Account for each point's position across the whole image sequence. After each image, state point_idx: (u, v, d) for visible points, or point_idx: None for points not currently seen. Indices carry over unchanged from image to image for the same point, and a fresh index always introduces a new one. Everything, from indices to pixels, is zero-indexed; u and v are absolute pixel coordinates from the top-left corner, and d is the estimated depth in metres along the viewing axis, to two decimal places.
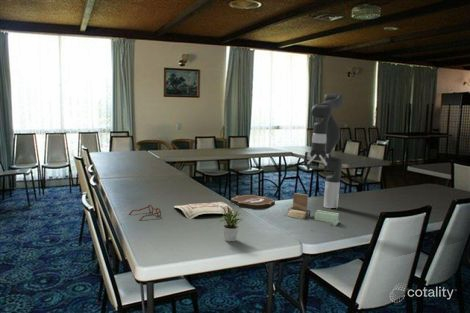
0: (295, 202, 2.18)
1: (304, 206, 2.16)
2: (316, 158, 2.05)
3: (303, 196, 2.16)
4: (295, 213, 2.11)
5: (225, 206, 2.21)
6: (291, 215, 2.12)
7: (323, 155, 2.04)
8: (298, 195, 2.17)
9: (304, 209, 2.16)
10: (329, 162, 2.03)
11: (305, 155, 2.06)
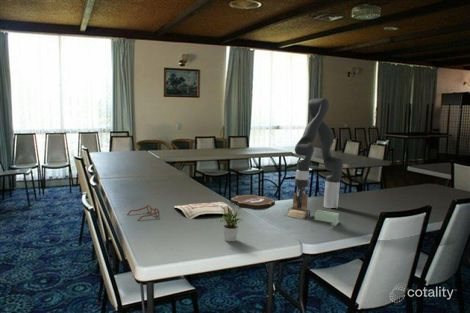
0: (295, 202, 2.18)
1: (304, 206, 2.16)
2: None
3: (303, 196, 2.16)
4: (295, 213, 2.11)
5: (225, 206, 2.21)
6: (291, 215, 2.12)
7: (304, 189, 2.19)
8: None
9: (304, 209, 2.16)
10: None
11: (300, 196, 2.12)
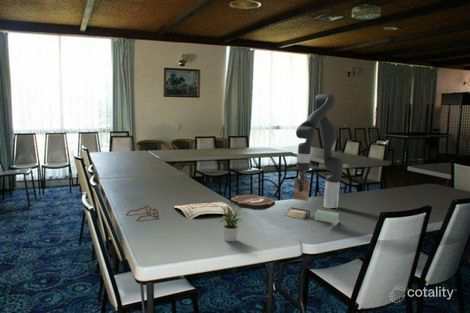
0: (296, 188, 2.17)
1: (305, 191, 2.15)
2: None
3: (304, 181, 2.15)
4: (295, 213, 2.11)
5: (225, 206, 2.21)
6: (291, 215, 2.12)
7: (305, 173, 2.18)
8: None
9: (305, 194, 2.15)
10: None
11: (301, 179, 2.11)
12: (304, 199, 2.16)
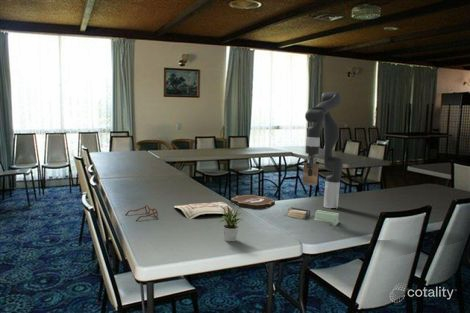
0: (305, 172, 2.14)
1: (314, 175, 2.12)
2: None
3: (313, 165, 2.12)
4: (295, 213, 2.11)
5: (225, 206, 2.21)
6: (291, 215, 2.12)
7: (314, 157, 2.15)
8: None
9: (314, 178, 2.12)
10: None
11: (310, 163, 2.08)
12: (313, 184, 2.12)
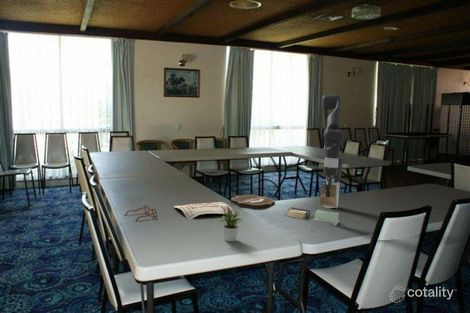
0: (323, 193, 2.09)
1: (333, 197, 2.07)
2: None
3: (332, 186, 2.07)
4: (295, 213, 2.11)
5: (225, 206, 2.21)
6: (291, 215, 2.12)
7: (332, 178, 2.10)
8: None
9: (333, 200, 2.07)
10: None
11: (329, 184, 2.03)
12: (331, 205, 2.08)
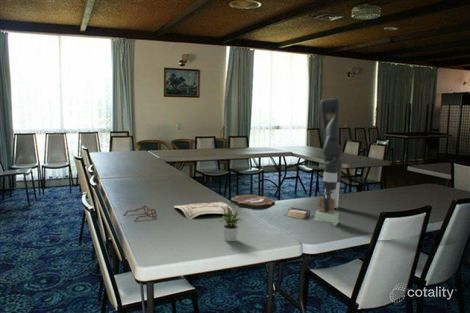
0: (321, 207, 2.10)
1: (331, 211, 2.08)
2: (330, 195, 2.09)
3: None
4: (295, 213, 2.11)
5: (225, 206, 2.21)
6: (291, 215, 2.12)
7: (331, 192, 2.11)
8: None
9: None
10: None
11: (328, 198, 2.04)
12: None
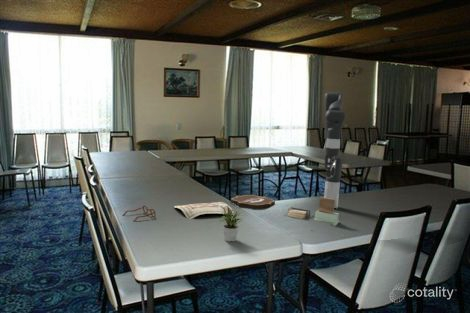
0: (321, 207, 2.10)
1: (331, 211, 2.08)
2: None
3: (330, 200, 2.08)
4: (295, 213, 2.11)
5: (225, 206, 2.21)
6: (291, 215, 2.12)
7: None
8: (325, 199, 2.09)
9: None
10: (335, 165, 2.13)
11: (331, 162, 2.01)
12: None
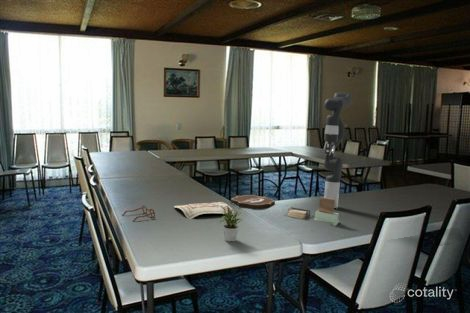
0: (321, 207, 2.10)
1: (331, 211, 2.08)
2: (331, 148, 2.19)
3: (330, 200, 2.08)
4: (295, 213, 2.11)
5: (225, 206, 2.21)
6: (291, 215, 2.12)
7: (333, 145, 2.22)
8: (325, 199, 2.09)
9: None
10: (334, 150, 2.25)
11: (329, 147, 2.13)
12: None
